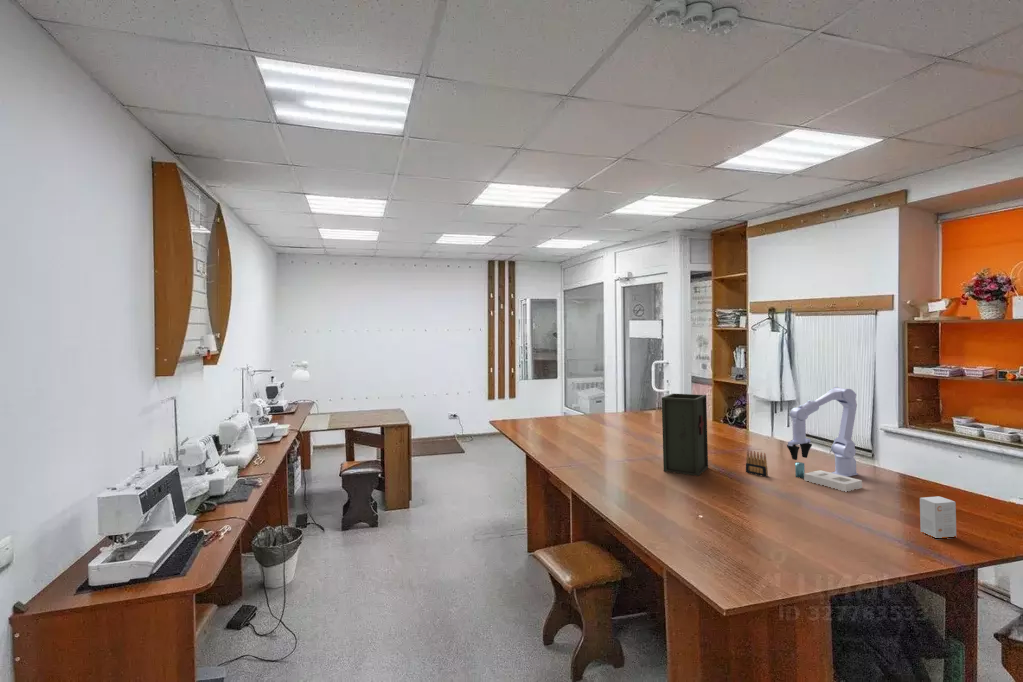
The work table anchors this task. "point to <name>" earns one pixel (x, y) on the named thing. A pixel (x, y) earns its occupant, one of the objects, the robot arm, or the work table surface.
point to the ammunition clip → (756, 464)
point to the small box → (938, 516)
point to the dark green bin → (685, 433)
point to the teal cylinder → (799, 469)
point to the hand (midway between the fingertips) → (799, 458)
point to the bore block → (833, 480)
